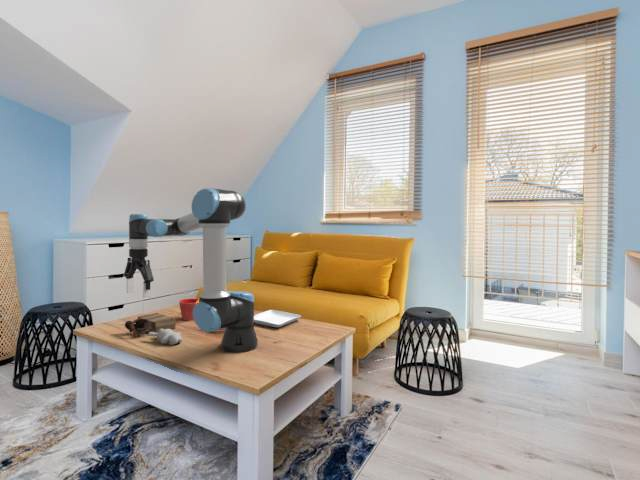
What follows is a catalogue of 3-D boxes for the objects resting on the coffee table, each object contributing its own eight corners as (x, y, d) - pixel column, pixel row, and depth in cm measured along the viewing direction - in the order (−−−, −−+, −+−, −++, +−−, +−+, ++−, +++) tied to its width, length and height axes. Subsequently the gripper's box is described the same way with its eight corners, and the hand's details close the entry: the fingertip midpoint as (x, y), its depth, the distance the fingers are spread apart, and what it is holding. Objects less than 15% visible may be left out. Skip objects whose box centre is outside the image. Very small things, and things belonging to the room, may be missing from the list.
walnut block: (175, 328, 180) (175, 318, 180) (155, 333, 172) (155, 322, 171) (157, 322, 189) (157, 312, 189) (137, 326, 181) (137, 316, 181)
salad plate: (278, 331, 181) (278, 324, 181) (245, 324, 192) (245, 317, 191) (302, 321, 199) (302, 314, 199) (270, 315, 210) (270, 309, 210)
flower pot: (205, 318, 200) (205, 300, 199) (188, 322, 190) (188, 303, 190) (191, 315, 205) (192, 297, 205) (174, 319, 196) (174, 301, 195)
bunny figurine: (169, 338, 153) (145, 328, 160) (168, 350, 154) (144, 340, 160) (188, 332, 161) (164, 323, 168) (186, 344, 162) (163, 334, 169)
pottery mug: (154, 331, 176) (155, 319, 172) (144, 346, 168) (144, 333, 164) (129, 325, 175) (129, 312, 171) (117, 339, 167) (117, 326, 163)
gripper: (162, 249, 165) (162, 297, 166) (131, 245, 179) (131, 289, 180) (146, 250, 159) (146, 300, 160) (115, 246, 172) (115, 292, 174)
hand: (138, 294), depth 170 cm, fingers open, 13 cm apart
